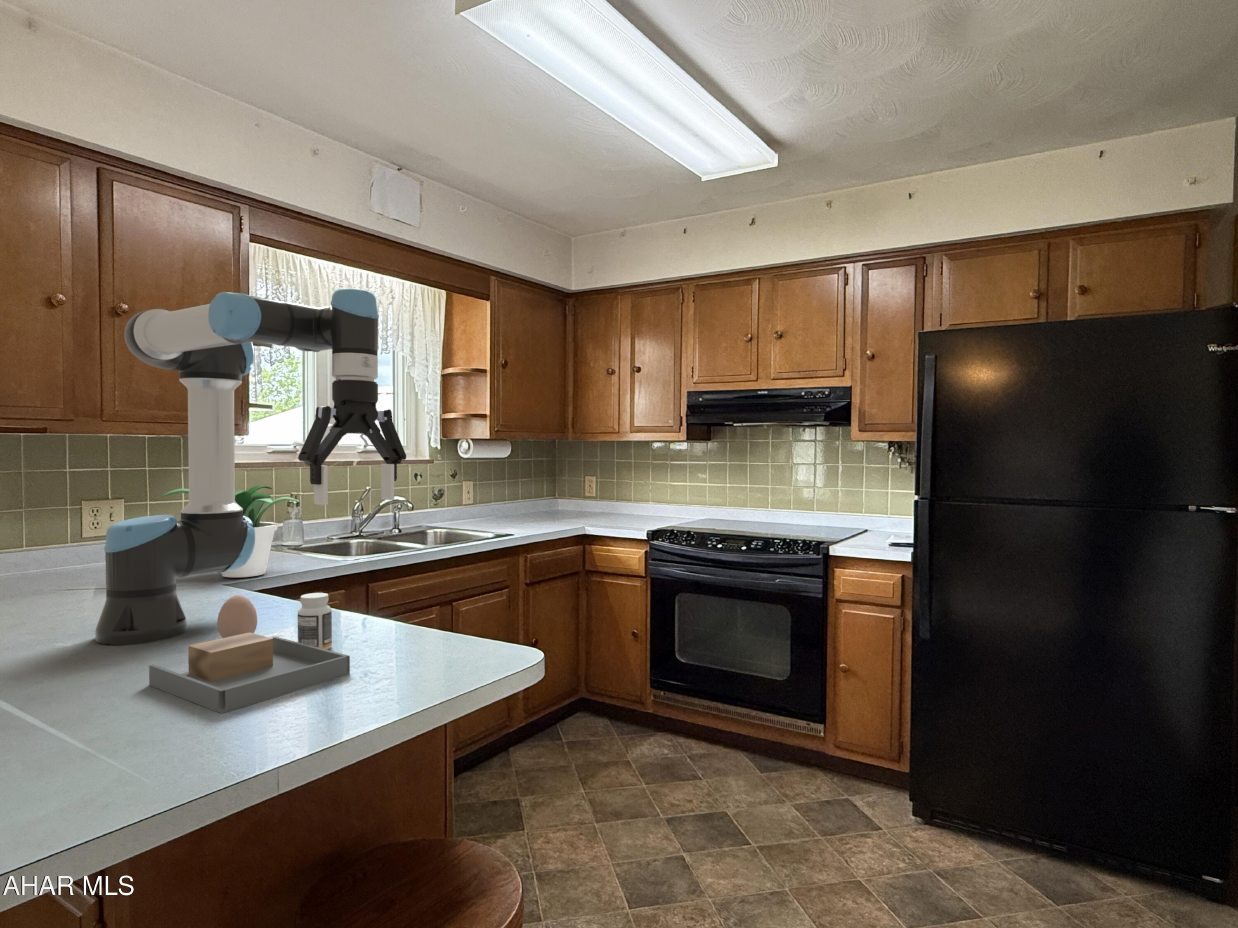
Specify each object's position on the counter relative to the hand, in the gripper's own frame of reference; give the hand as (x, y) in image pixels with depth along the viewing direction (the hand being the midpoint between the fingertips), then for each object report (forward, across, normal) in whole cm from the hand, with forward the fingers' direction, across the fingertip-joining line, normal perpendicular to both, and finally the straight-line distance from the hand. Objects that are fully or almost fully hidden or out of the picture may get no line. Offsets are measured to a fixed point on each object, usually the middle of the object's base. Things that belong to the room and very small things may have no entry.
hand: (355, 502), depth 127 cm
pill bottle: (+28, -1, +10) cm, 29 cm away
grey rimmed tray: (+27, -17, +3) cm, 32 cm away
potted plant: (+27, +31, +97) cm, 105 cm away
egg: (+27, -7, +25) cm, 38 cm away
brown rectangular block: (+27, -17, +9) cm, 33 cm away
